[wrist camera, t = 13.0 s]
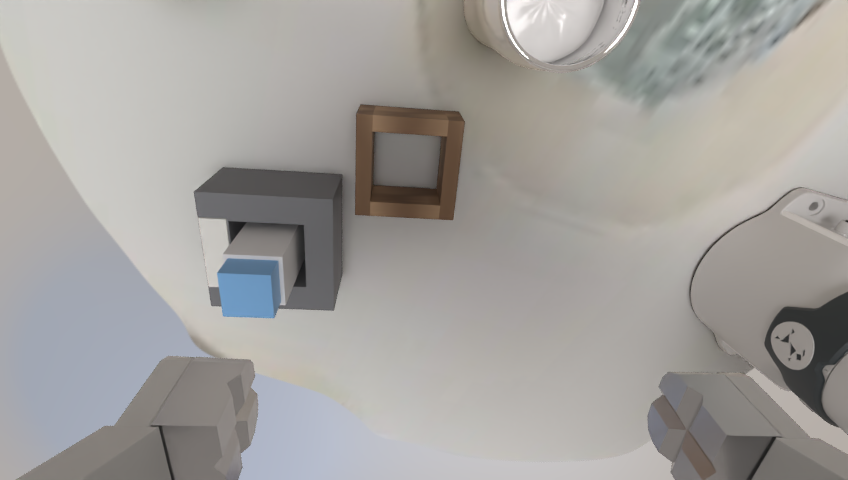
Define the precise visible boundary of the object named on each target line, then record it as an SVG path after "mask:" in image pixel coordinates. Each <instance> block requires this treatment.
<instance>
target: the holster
mask: <svg viewBox="0 0 848 480" xmlns="http://www.w3.org/2000/svg"><path fill="white" fill-rule="evenodd" d="M464 124H465V121H464V120H463V118H462V116H461V115H460V113H459V112H456V111H442V110H428V109H415V108H401V107H387V106H373V105H360V107H359V109H358V112H357V114H356V183H355V215H367V216H386V217H404V218H423V219H441V220H453V218H454V210H455V201H456V192H457V184H458V175H459V167H460V158H461V150H462V141H463V133H464ZM375 132H387V133H401V134H416V135H431V136H442V137H441V148H440V158H439V169H438V179H437V189H429V188H412V187H395V186H378V185H373V173H374V141H375Z"/></svg>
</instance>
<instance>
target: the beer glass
mask: <svg viewBox="0 0 848 480" xmlns="http://www.w3.org/2000/svg"><path fill="white" fill-rule="evenodd" d="M640 3H641V0H464V5H463V8H464V17H465V21H466V24H467V26H468V28H469V30H470V32H471V33H472V35H473V36H474V37H475V38H476V39H477V40H478V41H479V42H480V43H482V44H483V45H485V46H487V47H490V48H493V49H494V50H495V51H496V52H497V53H498V54H499V55H501V56H502V57H503V58H505V59H507V60H508V61H510V62H512V63H514V64H516V65H518V66H521V67H525V68H529V69H533V70H540V71H549V72H557V73H565V72H573V71H578V70H581V69H584V68H587V67H589V66H591V65H593V64H595V63H597V62H598V61H600V60H601V59H603V58H604V57H606V56H607V55H608V54H609V53H610V52H612V51H613V50H614V49H615V48H616V47H617V46H618V44H619V43H620V42H621V41H622V40H623V38H624V37H625V35H626V34H627V32H628V31H629V29H630V28H631V26H632V24H633V22H634V20H635V17H636V15H637V12H638V9H639V6H640Z"/></svg>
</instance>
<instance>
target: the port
mask: <svg viewBox="0 0 848 480" xmlns="http://www.w3.org/2000/svg"><path fill="white" fill-rule="evenodd" d="M194 196H195V202H196V209H197V215H198V222H199V228H200V235H201V242H202V248H203V255H204V261H205V268H206V274H207V281H208V287H209V294H210V300H211V306H222V305H221V298H220V291H219V284H218V277H217V272H218V271H219V269H220V268H221V267H222V265H223V264H224V261H223V253H224V252H225V250H226V249H227V248H228V246H229V245H230V244H231V242H232V241H233V240H234V239H235V237H236V236H237V235H238V233H239V232H240V231H241V229H242V228H243V227H244V225H245V224H246V223H247V222H258V223H277V224H296V225H304V240H305V258H304V261H303V263H302V266H301V268H300V271H299V273H298V276H297V278H296V281H295V283H294V286H293V288H292V291H291V293H290V296H289V298H288V301H287V303H286V305H280V306H279V308H278V309H305V310H332V311H334V308H335V304H336V299H337V295H338V290H339V286H340V282H341V277H342V175H341V174H324V173H308V172H291V171H275V170H258V169H242V168H225V167H223V168H222V169H220V170H219V171H218V172H217V173H216V174H214V175H213V176H212V177H211V178H210V179H208V180H207V181H206V182H205V183H204V184H203V185H201V186H200V187H199V188H198V189H197V190H195V191H194Z"/></svg>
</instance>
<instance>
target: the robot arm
mask: <svg viewBox="0 0 848 480" xmlns="http://www.w3.org/2000/svg"><path fill="white" fill-rule="evenodd" d="M691 303H692V307H693V310H694V312H695V314H696V316H697V317H698V318H699V320H700V321H701V322H702V323H703V324H705V325H706V326H707V327H709V328H710V329H711V330H712V331H713V332H714V334H715V338H716V341H717V343H718V345H719V347H720V348H721V349H722V350H723V351H725V352H726V353H727V354H729V355H738V354H739V355H740V356H741V357H743V358H744V359H745V360H746V361H747V362H749V363H750V364H751V365H752V366H753V367H755V368H756V369H757V370H758V371H760V372H761V373H762V374H764V375H765V376H766V377H767V378H768V379H769V380H771V381H772V382H773V383H775V384H776V385H777V386H778V387H780V388H781V389H784V390H786V391H790V390H791V391H792V392H794V393H795V394H796V395H797V396H798V397H799V398H800V401H801V402H802V403H803V404H804V405H806V406H807V407H808V408H809V409H810V410H811V411H813V412H815V413H816V414H818V415H819V416H820V417H821V418H822V419H824V420H825V421H826V422H828V423H829V424H831V425H834V426H836V427H840V428H841V429H842V430H843V431H844V432H845V433H847V435H848V200H844V199H841V198H838V197H834V196H831V195H827V194H824V193H820V192H817V191H813V190H810V189H806V188H798V189H795V190H793V191H792V192H790V193H789V194H787V195H786V196H785V197H783V198H782V199H781V200H780V201H779V202H778V203H776V204H775V205H774V206H773V207H772V208H771V209H770V210H768V211H767V212H765V213H763V214H761V215H759V216H757V217H755V218H753V219H750V220H748V221H746V222H744V223H742V224H741V225H739V226H737V227H736V228H734V229H733V230H731V231H730V232H729V233H727V234H726V235H725V236H723V237H722V238H721V239H720V240H719V241H718V242H717V243H716V244H715V245H714V246H713V247H712V248H711V249H710V250H709V251H708V253H707V254H706V255H705V257H704V258H703V260H702V261H701V263H700V265H699V266H698V268H697V270H696V273H695V275H694V278H693V281H692V286H691ZM254 378H255V371H254V364H253V362H252V361H251V360H247V359H228V358H208V357H179V356H167V357H166V358H164V359H162V360H161V361H160V362H159V364H158V365H157V367H156V368H155V369H154V371H153V372H152V374H151V375H150V376H149V378H148V379H147V380H146V382H145V383H144V385H143V386H142V387H141V389H140V390H139V392H138V393H137V394H136V396H135V397H134V399H133V400H132V402H131V403H130V404H129V406H128V407H127V409H126V410H125V411H124V413H123V414H122V416H121V417H120V419H119V420H118V421H117V423H116V424H115V425H114V426H104V427H102V428H101V429H99V430H98V431H96V432H94V433H92V434H91V435H89V436H87V437H86V438H84V439H82V440H81V441H79V442H77V443H76V444H74V445H72V446H71V447H69V448H68V449H66V450H64V451H62V452H61V453H59V454H58V455H56V456H54V457H53V458H51V459H49V460H48V461H46V462H44V463H43V464H41V465H39V466H38V467H36V468H34V469H33V470H31V471H30V472H28V473H26V474H24V475H23V476H21V477H19V478H18V479H16V480H238V478H239V475H240V473H241V470H242V461H241V453H242V452H243V451H244V450H246V449H247V448H248V447H249V446H250V445H251V441H252V439H253V435H254V433H255V428H256V422H257V417H258V397H257V393H256V392H255V391H254V390H253V389H252V388H251V385H252V383H253V380H254ZM659 389H660V391H661V393H662V396H661V397H659V398H658V399H657V400H655V401H654V402H653V403H652V404H651V407H650V410H649V413H648V430H649V433H650V436H651V439H652V441H653V443H654V445H655V446H656V448H657V450H658V452H659V453H661V454H662V455H663V456H665V457H666V458H667V459H669V460H670V461H672V466H671V473H672V475H673V477H674V479H675V480H848V454H846V453H844V452H842V451H840V450H839V449H837V448H835V447H833V446H832V445H830V444H828V443H826V442H824V441H823V440H821V439H815V438H810V437H809V436H808V435H807V434H806V433H805V432H804V431H803V430H802V429H801V428H800V426H799V425H798V424H796V422H794V420H793V419H792V418H790V416H789V415H788V414H787V413H786V412H785V411H784V410H783V409H782V408H781V407H780V406H779V405H778V404H777V403H776V402H775V401H774V400H773V399H772V398H771V397H770V396H769V395H768V394H767V393H766V392H765V391H764V390H763V389H762V388H761V387H760V386H759V385H758V384H757V383H756V382H755V381H754V380H753V379H752V378H751V377H749V376H747V375H745V374H743V373H720V372H718V373H699V372H668V373H667V374H666V375H664V376H663V377H662V380H661V382H660V384H659Z"/></svg>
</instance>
